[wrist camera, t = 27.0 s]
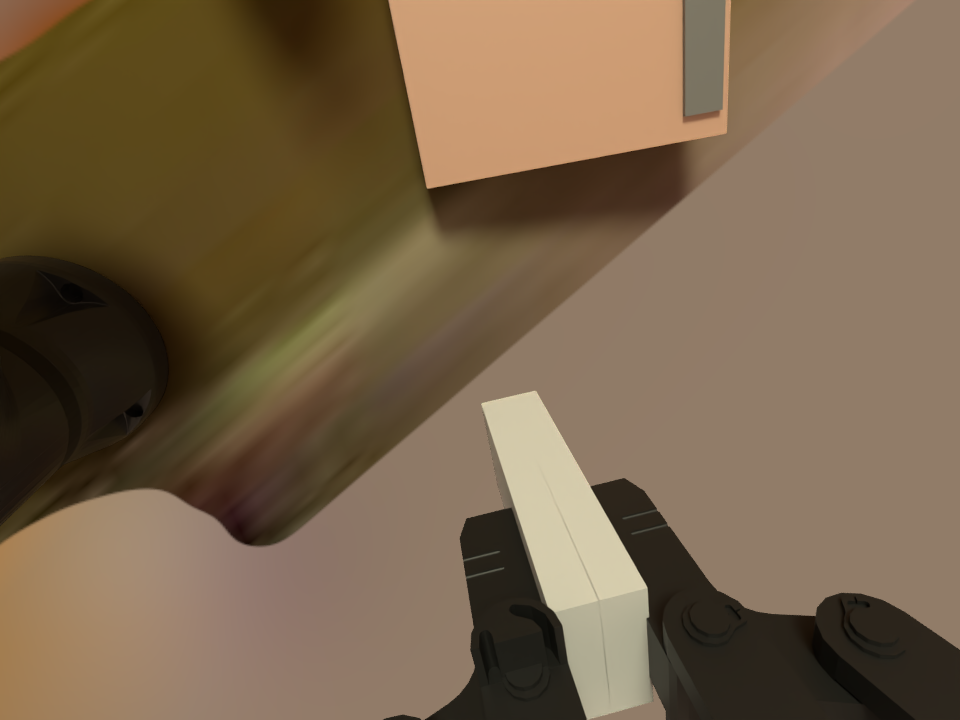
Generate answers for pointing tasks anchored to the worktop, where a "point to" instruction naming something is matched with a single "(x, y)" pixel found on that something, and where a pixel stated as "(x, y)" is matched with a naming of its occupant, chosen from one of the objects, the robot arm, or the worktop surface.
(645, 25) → the lid
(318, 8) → the worktop surface
